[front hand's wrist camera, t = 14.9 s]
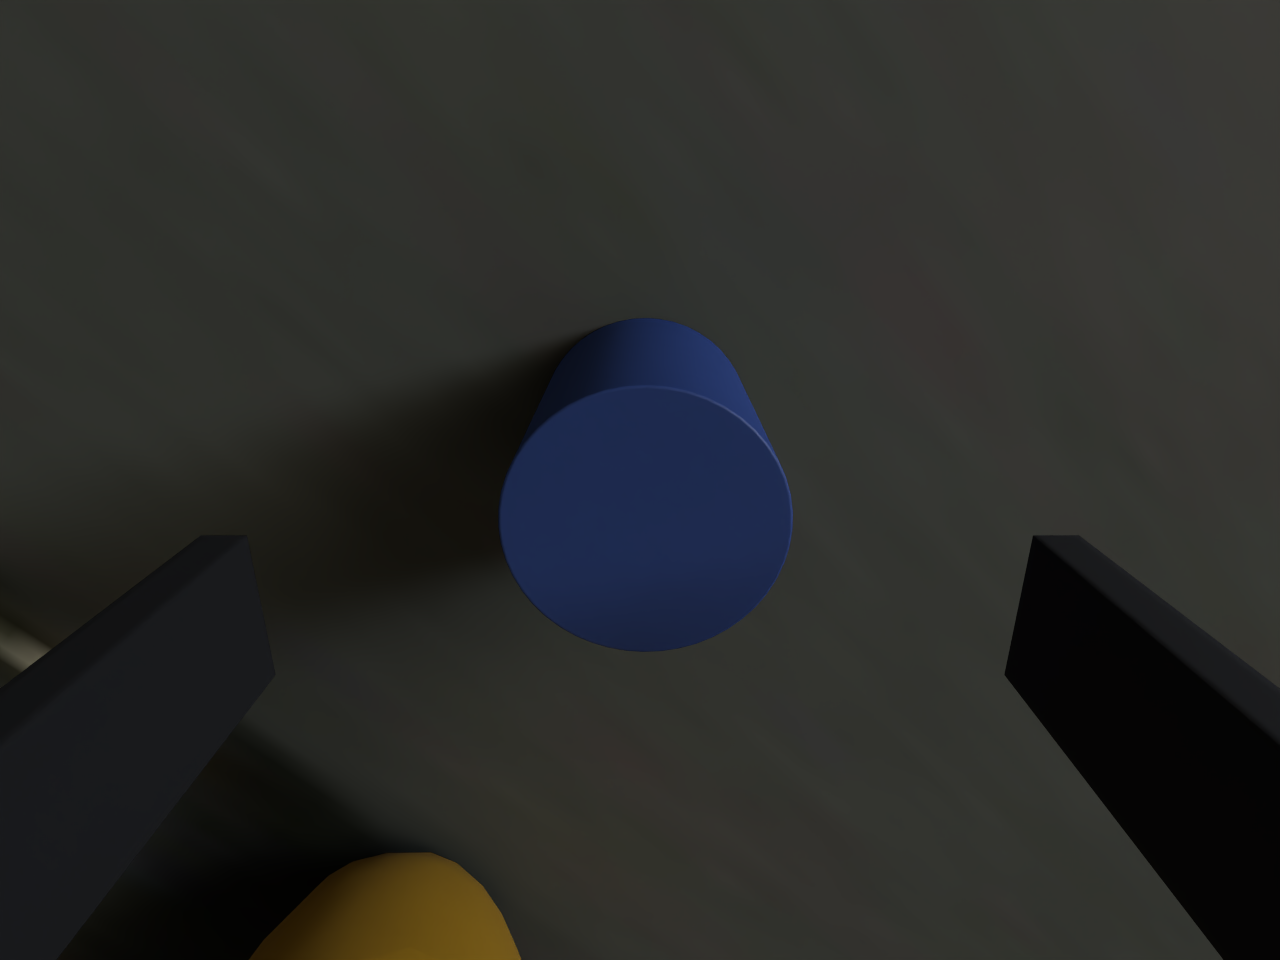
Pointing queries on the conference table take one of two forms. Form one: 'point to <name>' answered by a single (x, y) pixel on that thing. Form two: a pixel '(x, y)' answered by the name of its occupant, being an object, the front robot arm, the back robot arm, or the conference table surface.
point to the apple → (393, 915)
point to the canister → (645, 493)
